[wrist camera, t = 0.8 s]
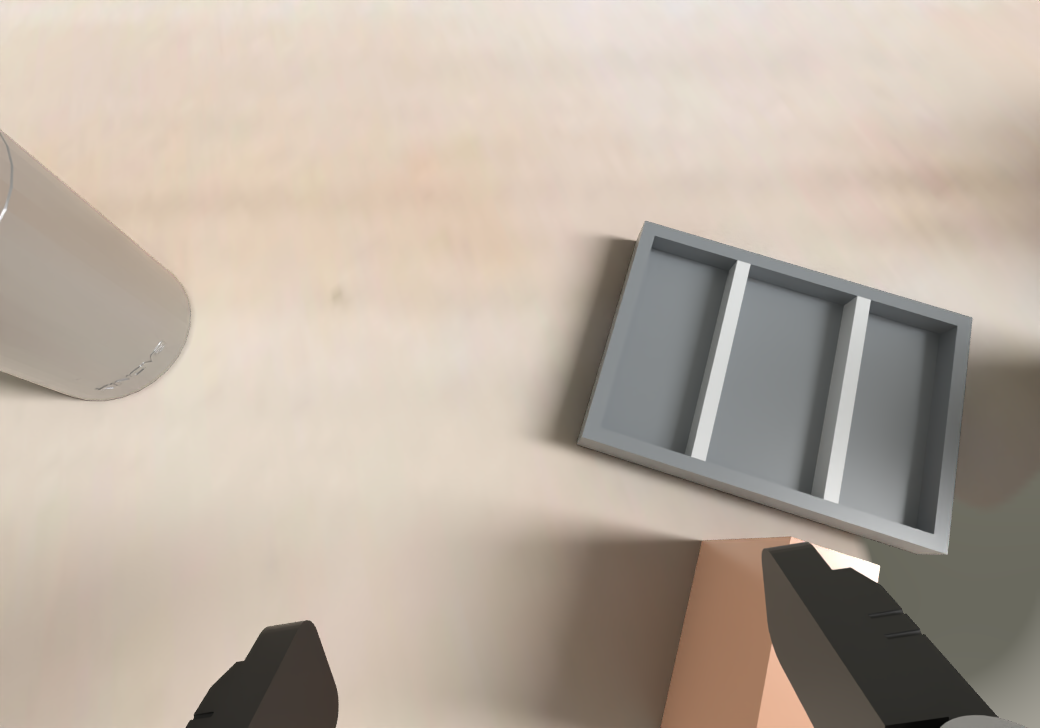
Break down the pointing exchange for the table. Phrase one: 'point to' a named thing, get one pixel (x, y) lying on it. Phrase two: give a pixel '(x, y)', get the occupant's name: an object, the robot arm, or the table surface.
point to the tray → (784, 388)
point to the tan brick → (736, 643)
